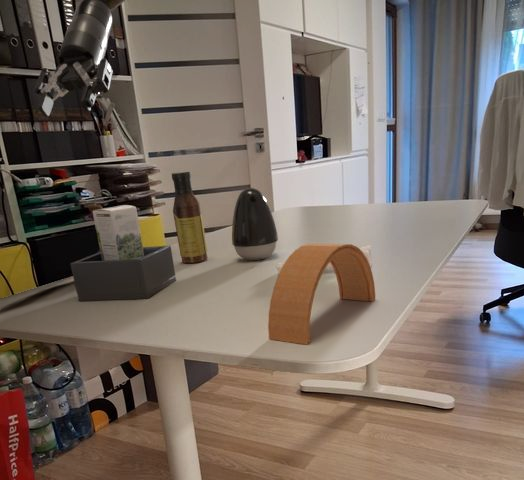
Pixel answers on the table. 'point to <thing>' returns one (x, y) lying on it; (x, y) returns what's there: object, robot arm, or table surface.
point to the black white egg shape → (253, 226)
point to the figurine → (365, 250)
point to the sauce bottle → (188, 220)
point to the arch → (315, 286)
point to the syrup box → (118, 233)
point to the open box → (124, 275)
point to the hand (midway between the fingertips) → (64, 110)
